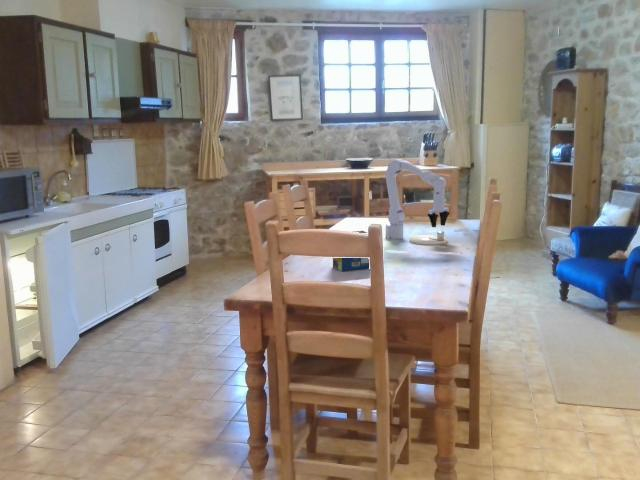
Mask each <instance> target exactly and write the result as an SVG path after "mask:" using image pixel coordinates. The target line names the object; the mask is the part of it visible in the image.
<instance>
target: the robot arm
mask: <svg viewBox="0 0 640 480" xmlns="http://www.w3.org/2000/svg"><path fill="white" fill-rule="evenodd" d="M402 171H409V172H411V173H413V174H415V175H418V176H419V177H420V179H421V181H423V182H424V183H427V184H429V185H430V186H432V188H433V203H432V205H433V206H432V207H433V208H432V209H428V212H427V216H428V218H429V221H430V225H431V228H436V227H437V221H438V218H440V221H439V222H440V226H443V227H444V226H445V225H446V223H447V220H448V217H449V215H450V211H449V209H450V208H449V207H445V201H446V200H445V199H446V196H445V195H446V191H445V189H446V186H447V180H446V178H445V177H443V176H440V175H439V174H435V173H433V172H432V170H428V169H427V170H423V169H421V168H420V167H418V166H416V165H415V164H413V163H412V162H410V161H408V160H405V159H404V158H397V159H391V160H390V162H389V163H387V169H386V172H385V183H386V189H387V193H388V200H389V201H388V202H389V210H388V216H387V220H388V222H389V223H387V224H386V225H385V238H386V239H387V240H402V239H404V221H405V219H406V214H405V213H404V211H403V207H402V206H401V203H400V202H401V201H400V197H399V189H398V183H397V178H396V177H397V176H398V174H399V173H401V172H402Z"/></svg>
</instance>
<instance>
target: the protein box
mask: <svg viewBox="0 0 640 480" xmlns="http://www.w3.org/2000/svg"><path fill="white" fill-rule="evenodd" d="M353 232H359V233H368V232H367V231H365V230H355V231H353ZM332 267H333V268H335V269H336V270H338V271H340V272H349V271H350V272H353V271H361V270H369V269H368V268H369V259H368V258H333V257H332Z"/></svg>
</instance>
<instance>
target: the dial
mask: <svg viewBox="0 0 640 480" xmlns="http://www.w3.org/2000/svg"><path fill="white" fill-rule="evenodd" d="M408 239H409V240H408V242H409V243H411V244H414V245H423V246H424V245H425V246H438V245H445V244H448V240H449V239H448V237H445V231H437V233H436V234H435V235H434V234H433V235H432V234H419V235H413V236H410V237H409V238H408Z"/></svg>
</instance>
